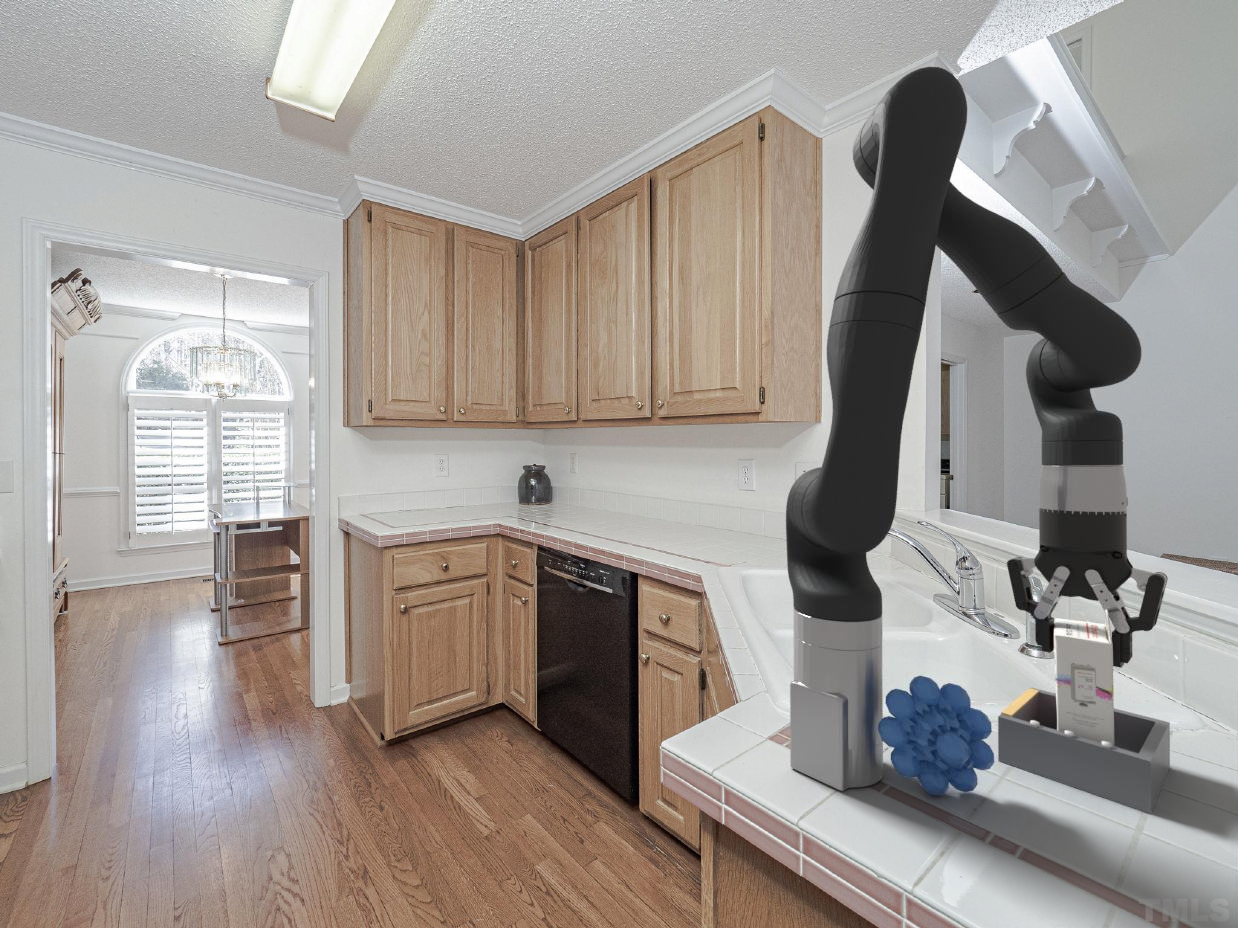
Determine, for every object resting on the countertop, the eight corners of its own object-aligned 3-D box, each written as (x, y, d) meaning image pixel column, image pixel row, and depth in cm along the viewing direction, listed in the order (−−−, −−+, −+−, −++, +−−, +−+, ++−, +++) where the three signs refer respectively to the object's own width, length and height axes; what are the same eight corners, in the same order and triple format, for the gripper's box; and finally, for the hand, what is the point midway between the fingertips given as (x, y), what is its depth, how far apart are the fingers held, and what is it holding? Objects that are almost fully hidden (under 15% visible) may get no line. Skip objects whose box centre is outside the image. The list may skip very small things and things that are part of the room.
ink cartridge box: (1053, 713, 68) (1053, 591, 68) (1108, 725, 65) (1107, 597, 65) (1054, 742, 61) (1053, 606, 61) (1115, 756, 58) (1114, 613, 58)
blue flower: (900, 821, 53) (900, 693, 53) (868, 780, 60) (867, 667, 60) (1023, 820, 53) (1023, 692, 53) (977, 779, 60) (977, 666, 60)
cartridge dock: (1150, 813, 54) (1150, 757, 54) (998, 760, 64) (998, 712, 64) (1169, 767, 62) (1169, 718, 62) (1032, 726, 72) (1031, 684, 72)
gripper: (995, 504, 66) (996, 649, 66) (1165, 512, 55) (1166, 685, 55) (1015, 501, 71) (1016, 636, 71) (1176, 508, 60) (1177, 667, 60)
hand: (1082, 657), depth 63 cm, fingers closed on ink cartridge box, 5 cm apart
